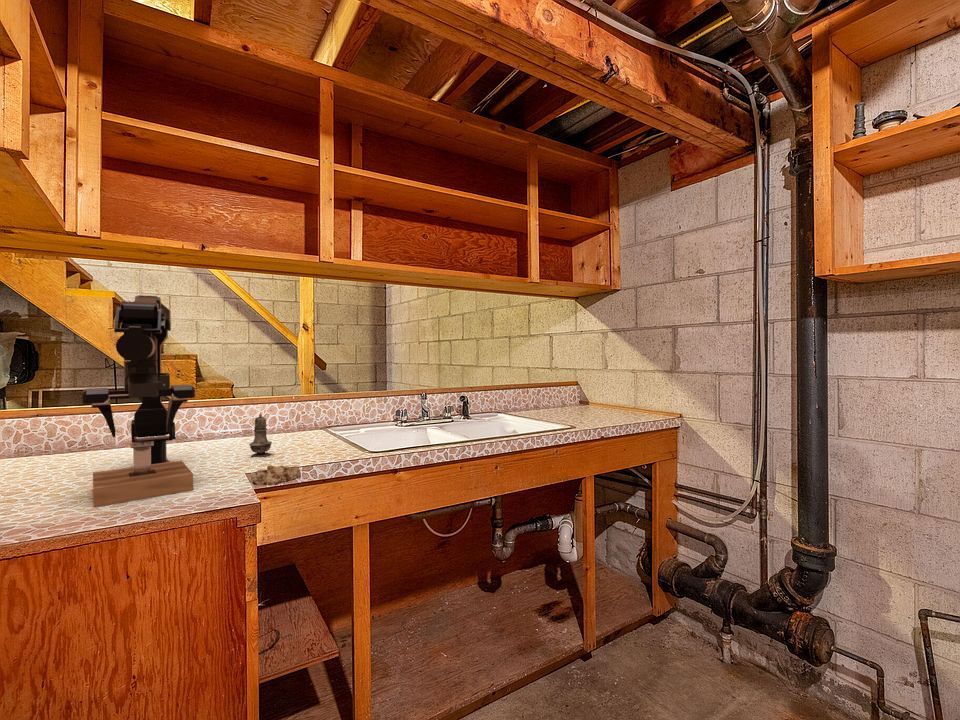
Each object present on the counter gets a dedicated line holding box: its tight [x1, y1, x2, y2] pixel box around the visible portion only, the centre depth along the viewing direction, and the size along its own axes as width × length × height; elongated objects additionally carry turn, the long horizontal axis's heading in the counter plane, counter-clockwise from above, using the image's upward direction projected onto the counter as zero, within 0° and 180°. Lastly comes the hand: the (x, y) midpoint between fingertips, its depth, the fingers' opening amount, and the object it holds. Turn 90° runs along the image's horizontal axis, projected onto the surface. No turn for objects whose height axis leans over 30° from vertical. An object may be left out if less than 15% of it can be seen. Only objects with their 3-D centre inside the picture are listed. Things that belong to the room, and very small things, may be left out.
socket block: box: [92, 460, 194, 508], centre depth 96 cm, size 16×16×4 cm
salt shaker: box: [248, 413, 273, 458], centre depth 127 cm, size 6×6×12 cm
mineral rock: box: [249, 464, 301, 486], centre depth 103 cm, size 11×4×8 cm
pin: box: [129, 441, 154, 476], centre depth 96 cm, size 4×4×10 cm
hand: (141, 434), depth 95 cm, fingers open, 9 cm apart
